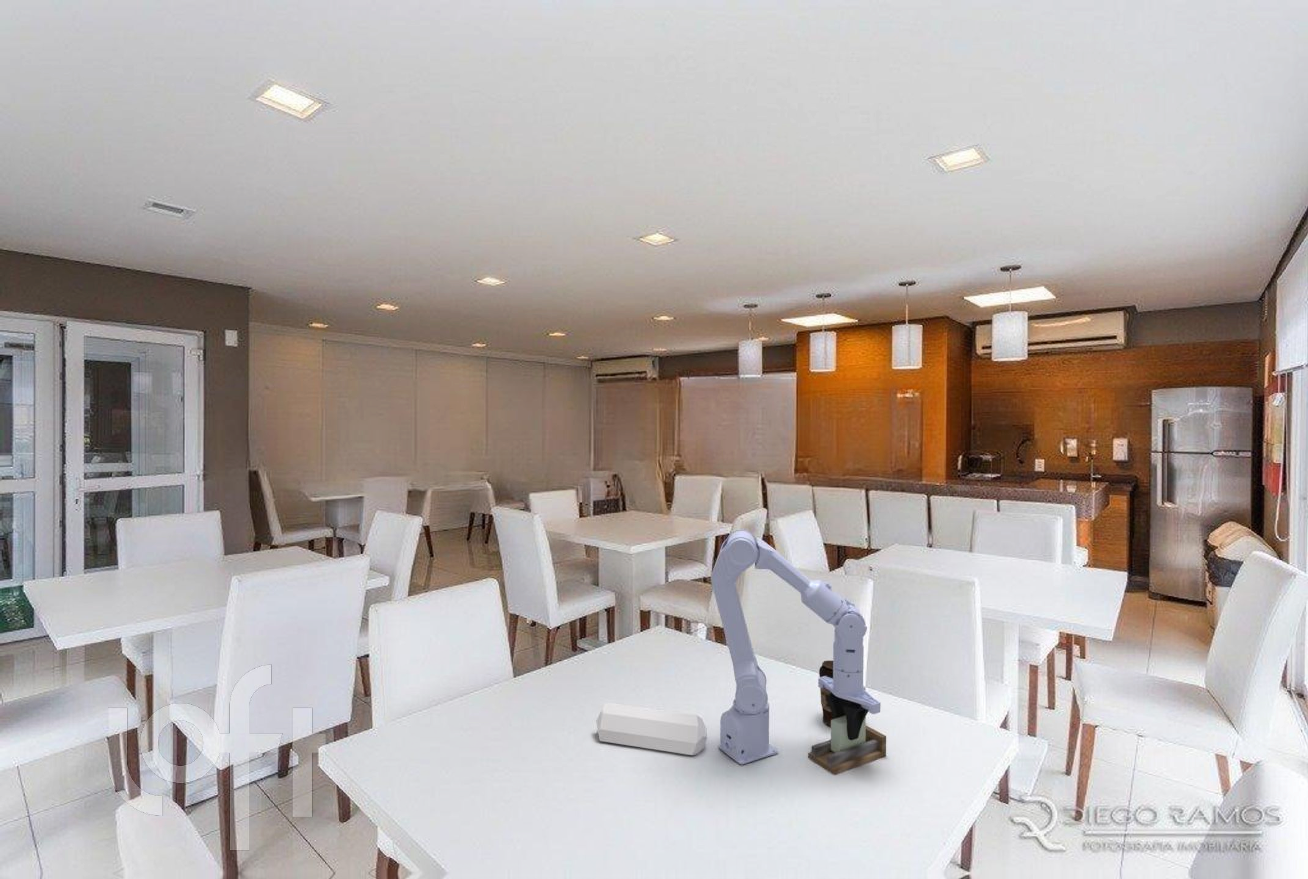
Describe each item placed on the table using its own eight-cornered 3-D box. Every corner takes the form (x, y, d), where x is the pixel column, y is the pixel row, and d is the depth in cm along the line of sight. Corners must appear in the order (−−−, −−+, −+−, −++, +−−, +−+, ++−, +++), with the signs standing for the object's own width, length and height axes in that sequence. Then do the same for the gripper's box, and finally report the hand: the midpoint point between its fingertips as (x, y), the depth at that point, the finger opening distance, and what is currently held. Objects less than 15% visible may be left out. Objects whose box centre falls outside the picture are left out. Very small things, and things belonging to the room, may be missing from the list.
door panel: (839, 755, 125) (839, 724, 125) (830, 749, 127) (830, 719, 127) (865, 746, 129) (865, 716, 128) (856, 741, 131) (856, 711, 131)
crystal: (586, 728, 132) (701, 745, 125) (597, 698, 138) (708, 713, 131) (593, 750, 136) (705, 768, 129) (604, 720, 142) (711, 735, 135)
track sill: (834, 774, 121) (834, 753, 121) (808, 757, 128) (808, 737, 127) (886, 755, 128) (886, 736, 128) (859, 740, 134) (859, 721, 134)
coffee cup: (849, 736, 136) (849, 675, 136) (811, 724, 141) (812, 666, 141) (863, 720, 143) (863, 662, 143) (827, 710, 148) (827, 654, 148)
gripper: (892, 676, 123) (891, 746, 123) (836, 652, 136) (835, 716, 136) (865, 683, 120) (865, 755, 120) (810, 658, 132) (810, 723, 133)
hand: (847, 735), depth 128 cm, fingers closed on door panel, 2 cm apart
